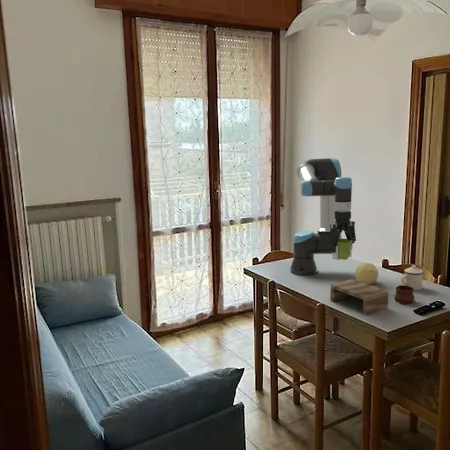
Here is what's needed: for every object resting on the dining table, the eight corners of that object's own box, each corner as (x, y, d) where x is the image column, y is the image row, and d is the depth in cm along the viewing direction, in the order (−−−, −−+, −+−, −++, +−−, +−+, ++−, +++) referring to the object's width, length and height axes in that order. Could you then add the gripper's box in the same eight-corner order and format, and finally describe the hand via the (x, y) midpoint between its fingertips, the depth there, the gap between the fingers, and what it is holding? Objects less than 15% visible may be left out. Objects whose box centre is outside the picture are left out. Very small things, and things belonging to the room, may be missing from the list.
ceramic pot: (379, 294, 222) (380, 281, 221) (416, 295, 221) (417, 281, 220) (391, 309, 205) (392, 294, 203) (431, 309, 204) (432, 295, 202)
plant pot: (356, 258, 214) (356, 240, 213) (342, 261, 209) (342, 243, 208) (341, 255, 222) (341, 237, 220) (327, 258, 217) (327, 240, 215)
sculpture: (379, 286, 234) (380, 266, 232) (355, 285, 236) (356, 265, 234) (376, 279, 245) (377, 260, 243) (353, 279, 247) (354, 259, 245)
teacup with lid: (412, 283, 237) (413, 262, 234) (426, 289, 228) (427, 266, 226) (394, 287, 232) (395, 265, 230) (408, 292, 224) (409, 270, 222)
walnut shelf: (330, 300, 216) (330, 284, 215) (351, 294, 224) (351, 279, 222) (366, 315, 198) (367, 297, 196) (387, 308, 205) (388, 291, 204)
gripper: (331, 213, 203) (331, 262, 207) (365, 209, 213) (363, 256, 217) (320, 211, 209) (319, 259, 213) (353, 207, 220) (352, 253, 224)
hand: (341, 257), depth 215 cm, fingers closed on plant pot, 8 cm apart
